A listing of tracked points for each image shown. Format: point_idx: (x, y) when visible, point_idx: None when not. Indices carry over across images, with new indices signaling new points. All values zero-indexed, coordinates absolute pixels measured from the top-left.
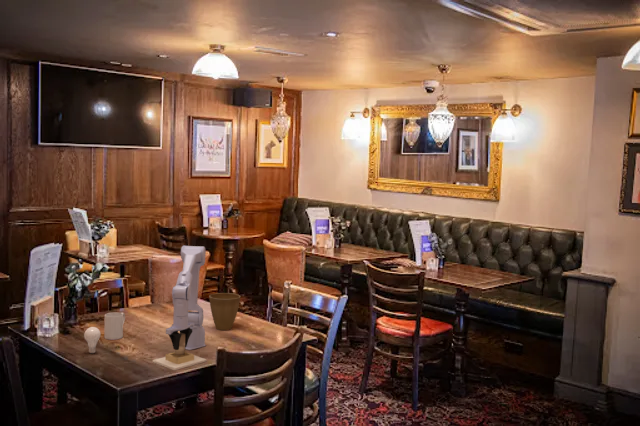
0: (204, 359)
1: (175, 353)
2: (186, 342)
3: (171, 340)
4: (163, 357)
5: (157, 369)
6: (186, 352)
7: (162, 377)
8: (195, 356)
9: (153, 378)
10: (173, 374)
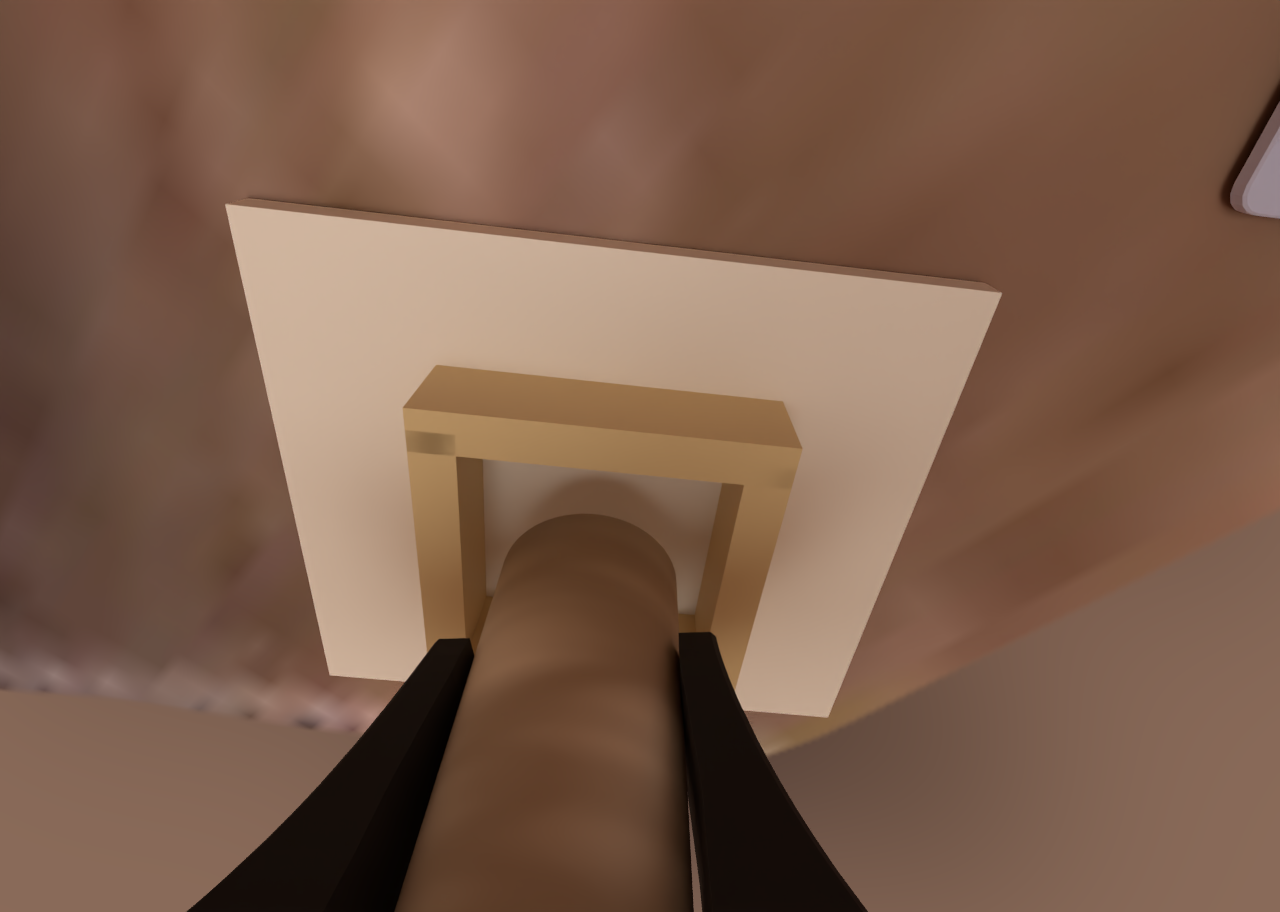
0: (814, 704)
1: (496, 587)
2: (693, 821)
3: (293, 817)
4: (483, 242)
5: (171, 507)
6: (745, 584)
7: (120, 697)
8: (861, 574)
9: (14, 662)
10: (266, 711)
